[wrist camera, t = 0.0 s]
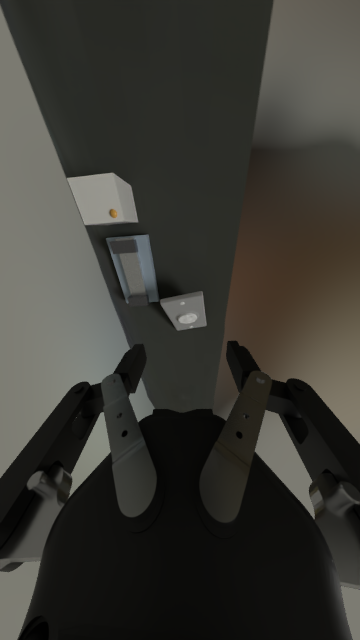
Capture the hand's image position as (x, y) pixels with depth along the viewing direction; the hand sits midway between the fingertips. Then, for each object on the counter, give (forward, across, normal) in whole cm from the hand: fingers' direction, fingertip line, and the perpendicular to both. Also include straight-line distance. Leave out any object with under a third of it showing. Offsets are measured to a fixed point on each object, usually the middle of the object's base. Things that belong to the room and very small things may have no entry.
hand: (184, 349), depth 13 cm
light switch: (+24, 0, +5) cm, 24 cm away
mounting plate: (+22, +11, -5) cm, 25 cm away
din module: (+20, +11, -17) cm, 29 cm away
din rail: (+20, +11, -5) cm, 24 cm away
